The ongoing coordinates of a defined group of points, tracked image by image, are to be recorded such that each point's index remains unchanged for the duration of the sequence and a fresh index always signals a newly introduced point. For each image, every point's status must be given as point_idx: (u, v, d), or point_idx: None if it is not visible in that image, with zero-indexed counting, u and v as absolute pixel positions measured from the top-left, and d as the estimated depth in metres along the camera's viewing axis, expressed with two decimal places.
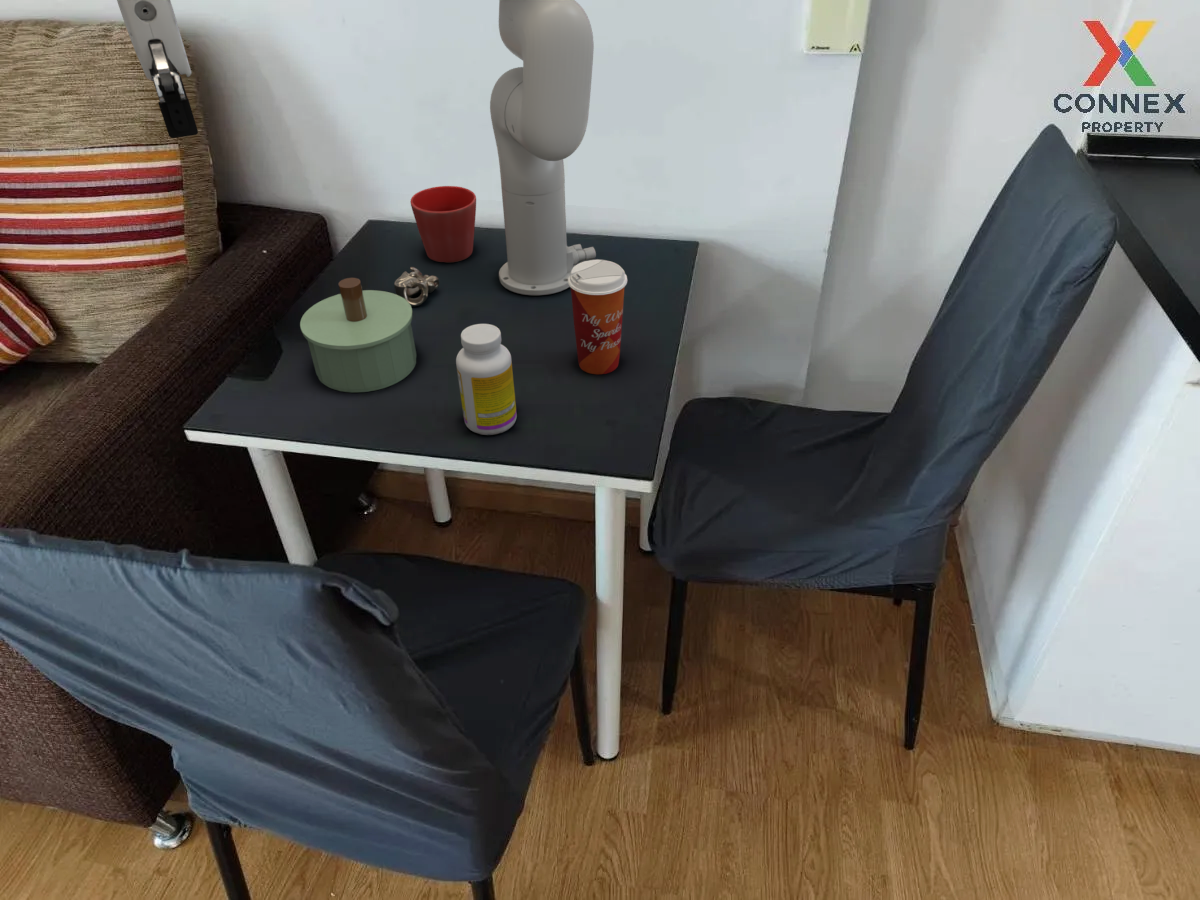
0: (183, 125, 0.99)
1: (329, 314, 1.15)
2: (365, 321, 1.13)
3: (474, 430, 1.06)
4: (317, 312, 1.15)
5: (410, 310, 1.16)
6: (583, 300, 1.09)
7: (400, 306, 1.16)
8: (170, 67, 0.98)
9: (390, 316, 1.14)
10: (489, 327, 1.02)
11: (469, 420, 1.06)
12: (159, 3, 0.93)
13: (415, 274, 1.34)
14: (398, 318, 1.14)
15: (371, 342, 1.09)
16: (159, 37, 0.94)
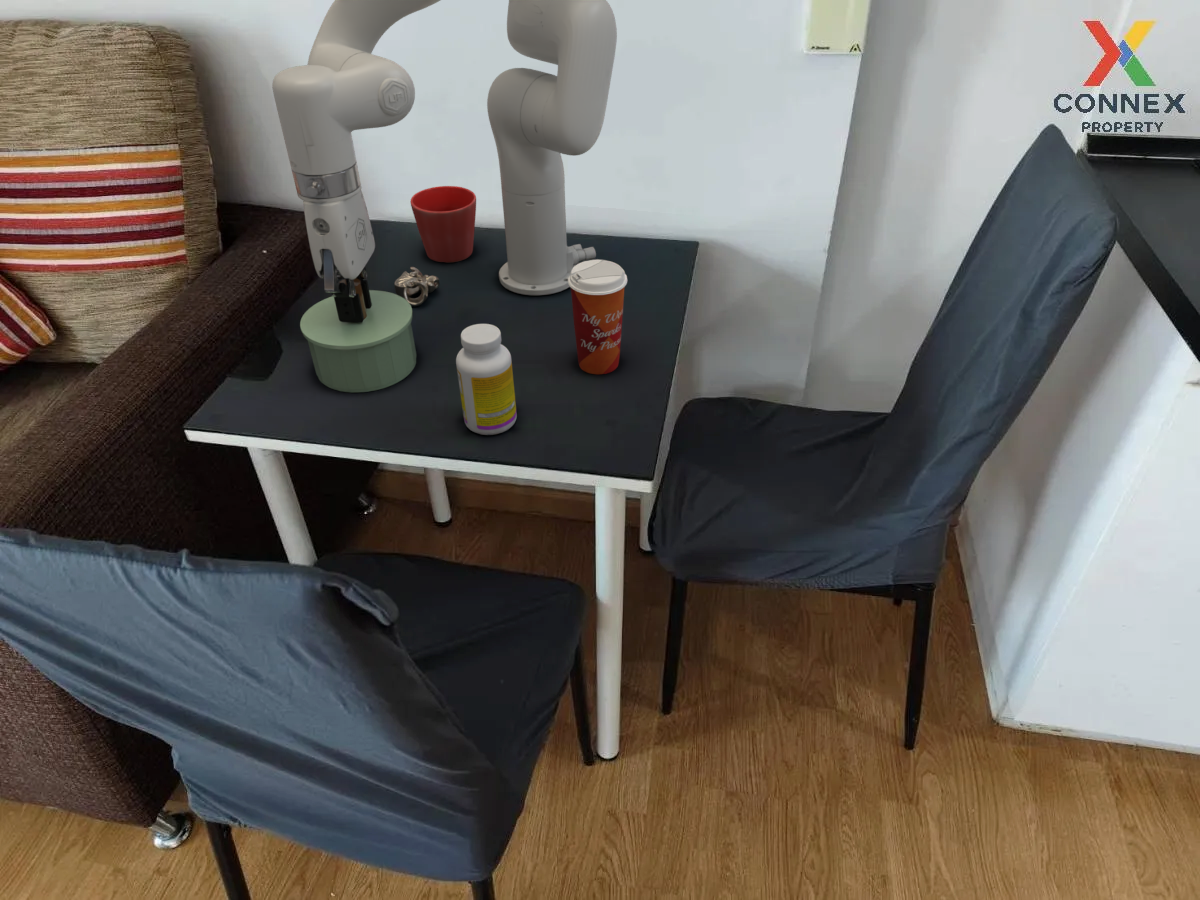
0: (349, 315, 1.11)
1: (329, 314, 1.15)
2: (365, 321, 1.13)
3: (474, 430, 1.06)
4: (317, 312, 1.15)
5: (410, 310, 1.16)
6: (583, 300, 1.09)
7: (400, 306, 1.16)
8: None
9: (390, 316, 1.14)
10: (489, 327, 1.02)
11: (469, 420, 1.06)
12: (333, 221, 1.01)
13: (415, 274, 1.34)
14: (398, 318, 1.14)
15: (371, 342, 1.09)
16: (329, 248, 1.03)
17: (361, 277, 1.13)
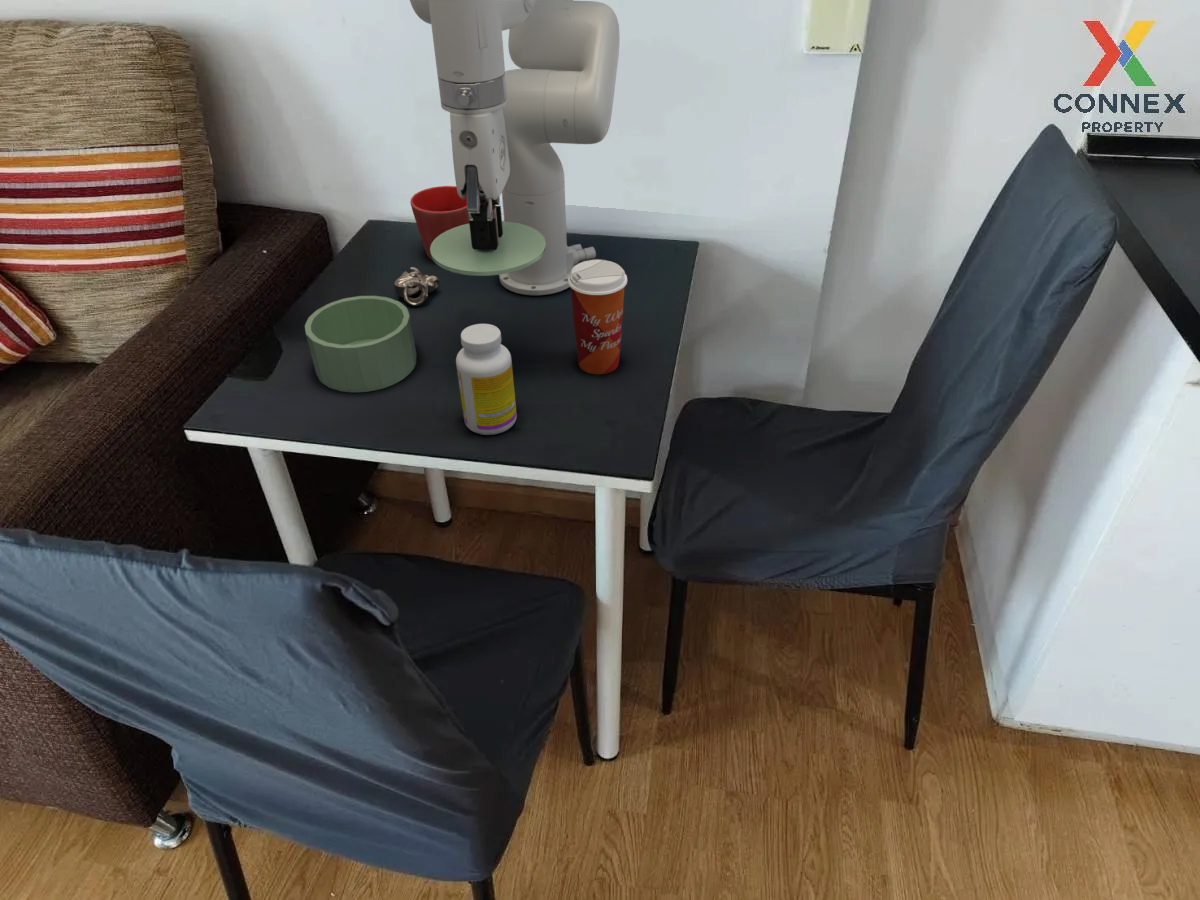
0: (484, 241, 1.06)
1: (459, 243, 1.09)
2: (498, 249, 1.08)
3: (474, 430, 1.06)
4: (445, 241, 1.10)
5: (543, 239, 1.10)
6: (583, 300, 1.09)
7: (531, 235, 1.11)
8: None
9: (523, 245, 1.09)
10: (489, 327, 1.02)
11: (469, 420, 1.06)
12: (482, 134, 0.96)
13: (415, 274, 1.34)
14: (532, 246, 1.08)
15: (510, 268, 1.04)
16: (475, 164, 0.97)
17: (495, 202, 1.07)
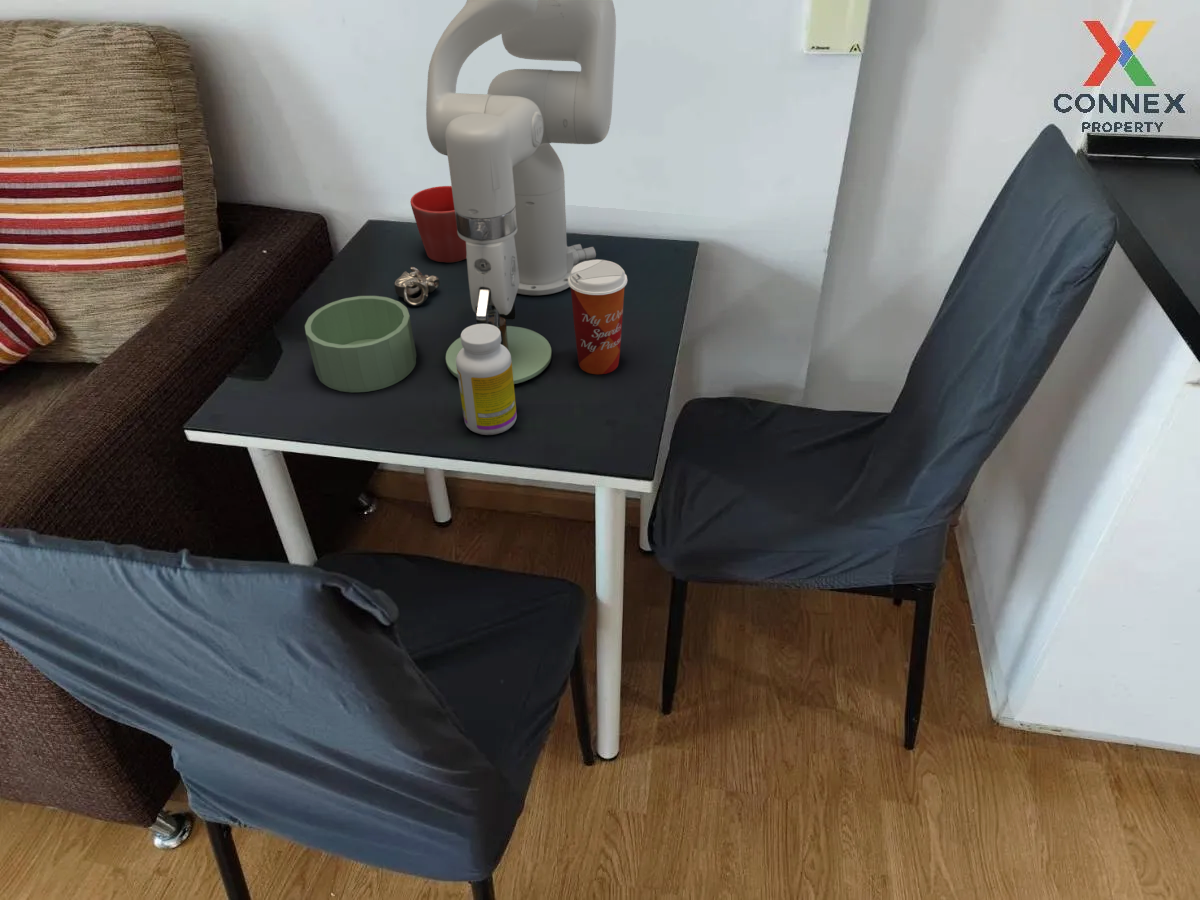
0: None
1: None
2: None
3: (474, 430, 1.06)
4: (459, 348, 1.20)
5: (549, 346, 1.20)
6: (583, 300, 1.09)
7: (538, 342, 1.21)
8: None
9: (531, 353, 1.19)
10: (489, 327, 1.02)
11: (469, 420, 1.06)
12: (495, 261, 1.06)
13: (415, 274, 1.34)
14: (539, 355, 1.18)
15: (519, 379, 1.14)
16: (488, 286, 1.07)
17: None
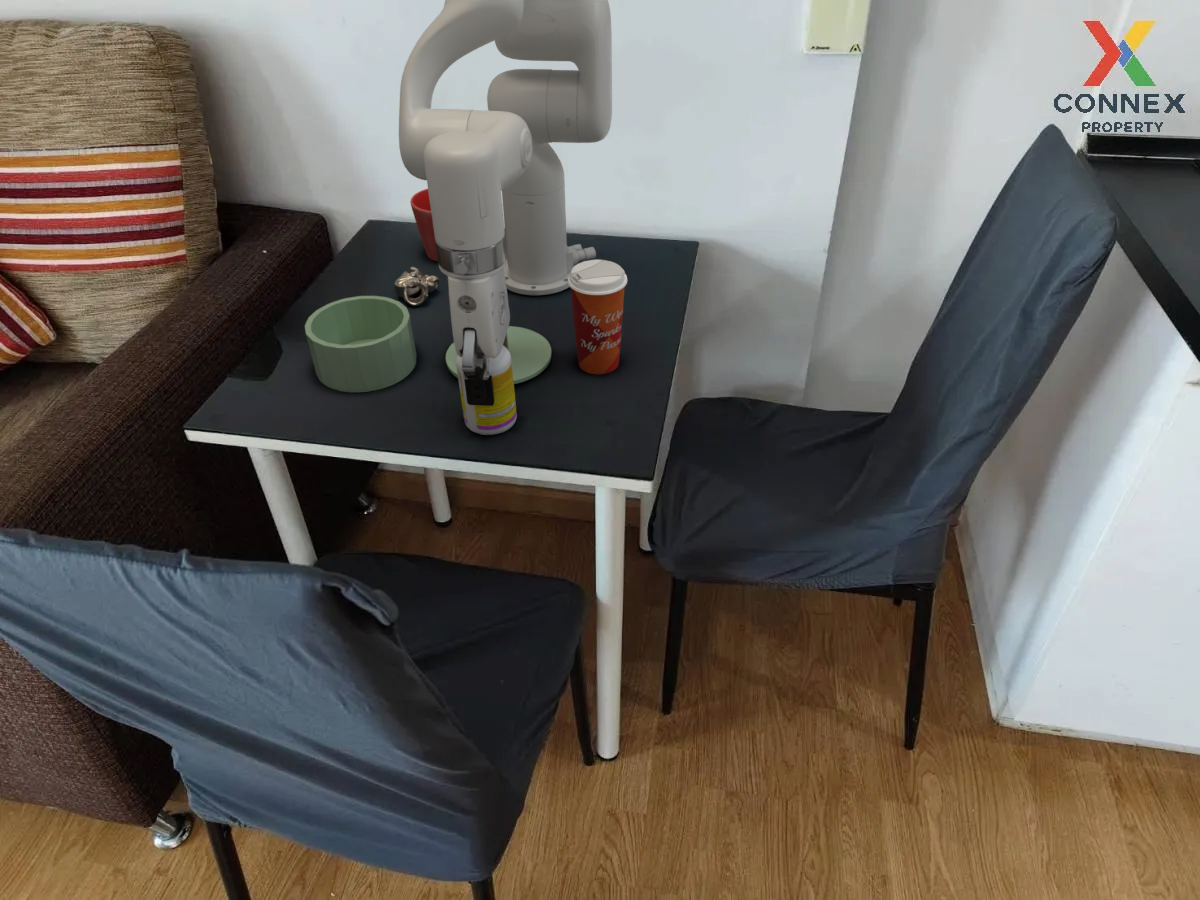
0: (480, 399, 1.01)
1: None
2: None
3: (474, 430, 1.06)
4: None
5: (549, 346, 1.20)
6: (583, 300, 1.09)
7: (538, 342, 1.21)
8: None
9: (531, 353, 1.19)
10: None
11: (469, 420, 1.06)
12: (481, 299, 0.93)
13: (415, 274, 1.34)
14: (539, 355, 1.18)
15: (519, 379, 1.14)
16: (474, 326, 0.94)
17: None
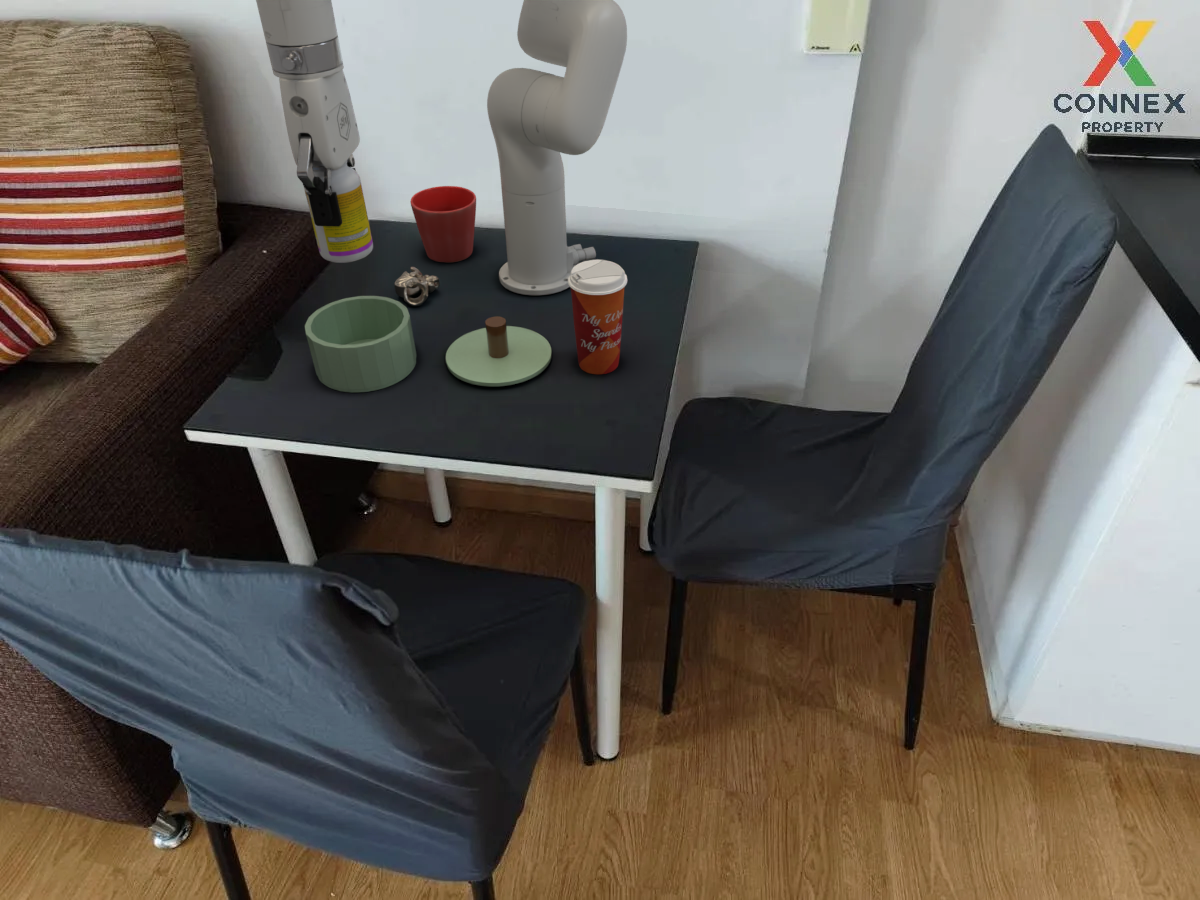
0: (326, 217, 1.00)
1: (472, 351, 1.19)
2: (508, 358, 1.18)
3: (327, 257, 1.06)
4: (459, 348, 1.20)
5: (549, 346, 1.20)
6: (583, 300, 1.09)
7: (538, 342, 1.21)
8: None
9: (531, 353, 1.19)
10: None
11: (321, 246, 1.05)
12: (312, 100, 0.92)
13: (415, 274, 1.34)
14: (539, 355, 1.18)
15: (519, 379, 1.14)
16: (308, 131, 0.94)
17: (349, 164, 1.05)
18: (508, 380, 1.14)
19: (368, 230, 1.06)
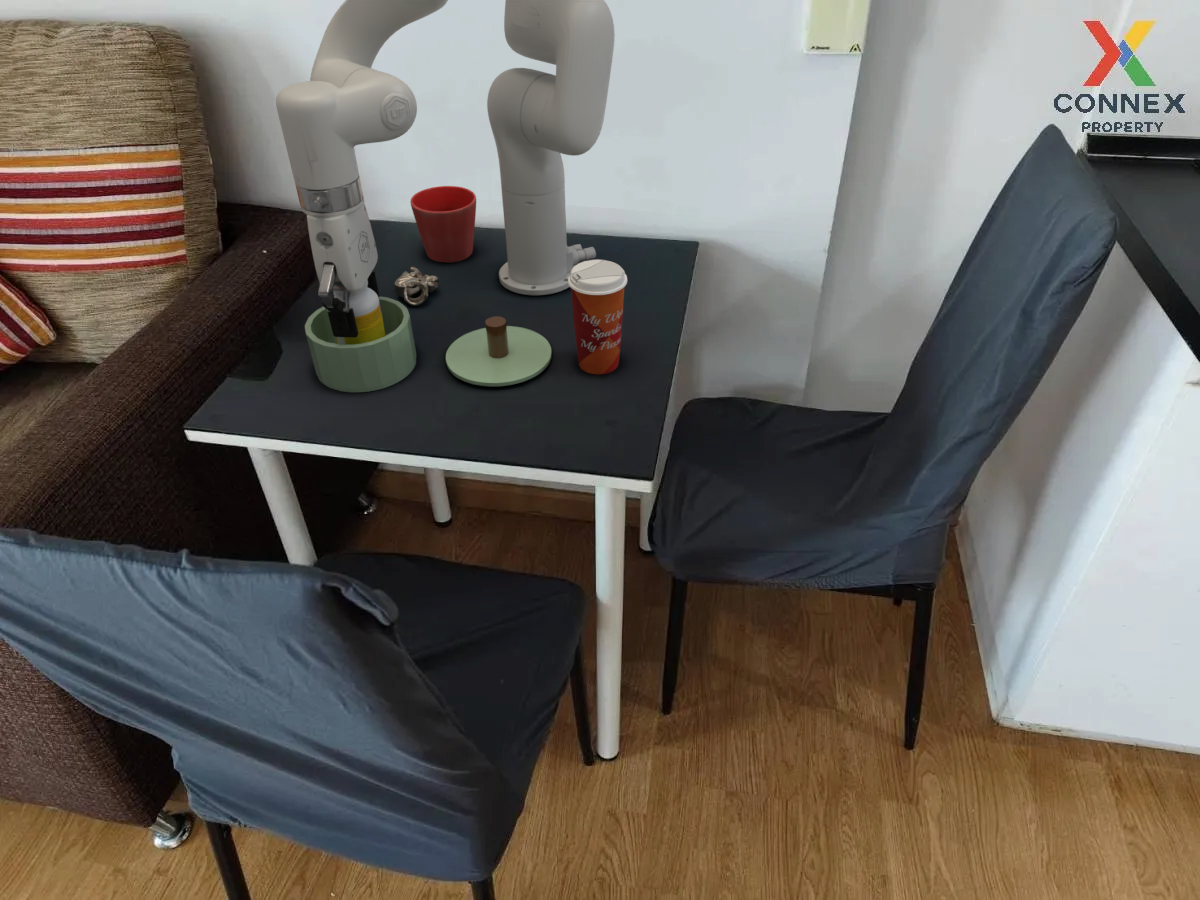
0: (343, 330, 1.09)
1: (472, 351, 1.19)
2: (508, 358, 1.18)
3: None
4: (459, 348, 1.20)
5: (549, 346, 1.20)
6: (583, 300, 1.09)
7: (538, 342, 1.21)
8: None
9: (531, 353, 1.19)
10: None
11: None
12: (337, 235, 1.02)
13: (415, 274, 1.34)
14: (539, 355, 1.18)
15: (519, 379, 1.14)
16: (333, 261, 1.04)
17: None
18: (508, 380, 1.14)
19: None
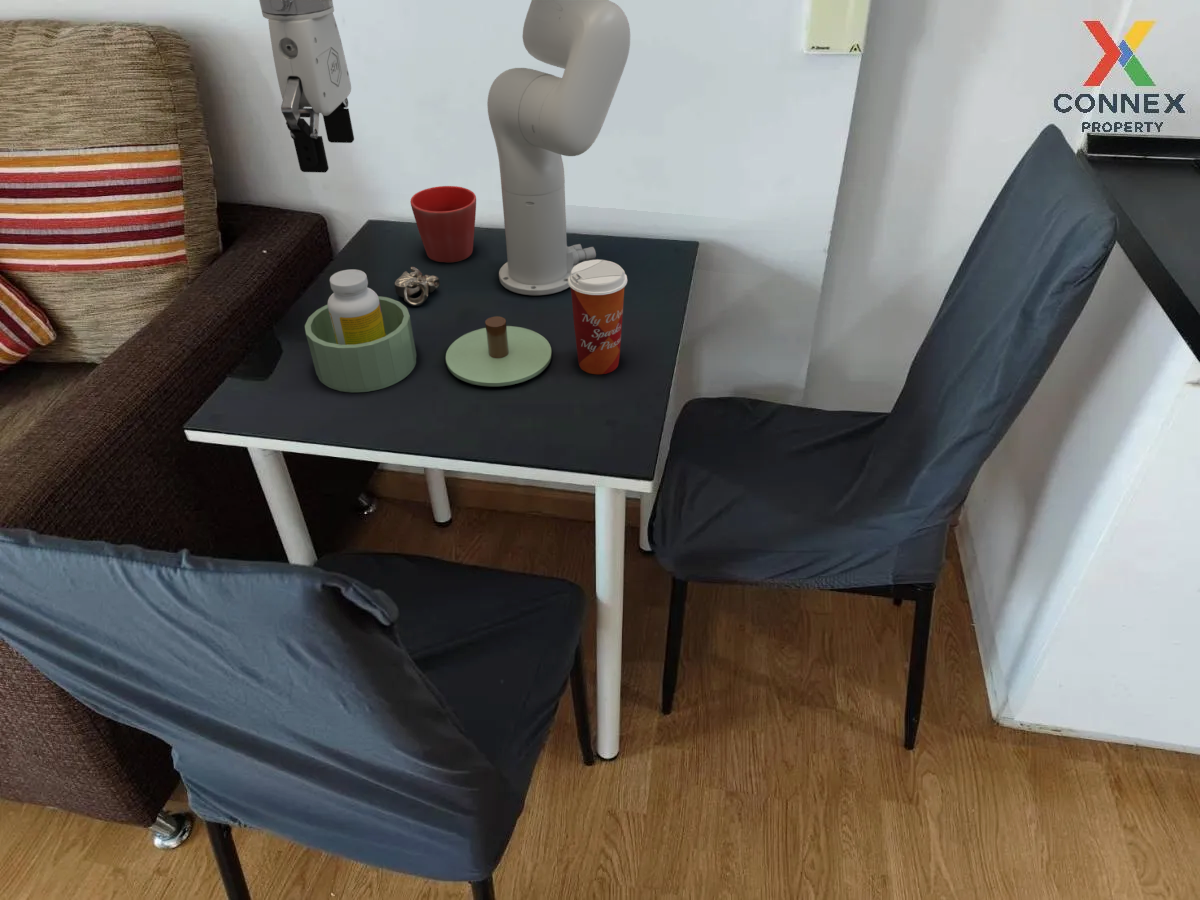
0: (311, 162, 0.98)
1: (472, 351, 1.19)
2: (508, 358, 1.18)
3: None
4: (459, 348, 1.20)
5: (549, 346, 1.20)
6: (583, 300, 1.09)
7: (538, 342, 1.21)
8: None
9: (531, 353, 1.19)
10: (357, 272, 1.12)
11: None
12: (302, 41, 0.91)
13: (415, 274, 1.34)
14: (539, 355, 1.18)
15: (519, 379, 1.14)
16: (298, 75, 0.93)
17: (342, 105, 1.04)
18: (508, 380, 1.14)
19: None
